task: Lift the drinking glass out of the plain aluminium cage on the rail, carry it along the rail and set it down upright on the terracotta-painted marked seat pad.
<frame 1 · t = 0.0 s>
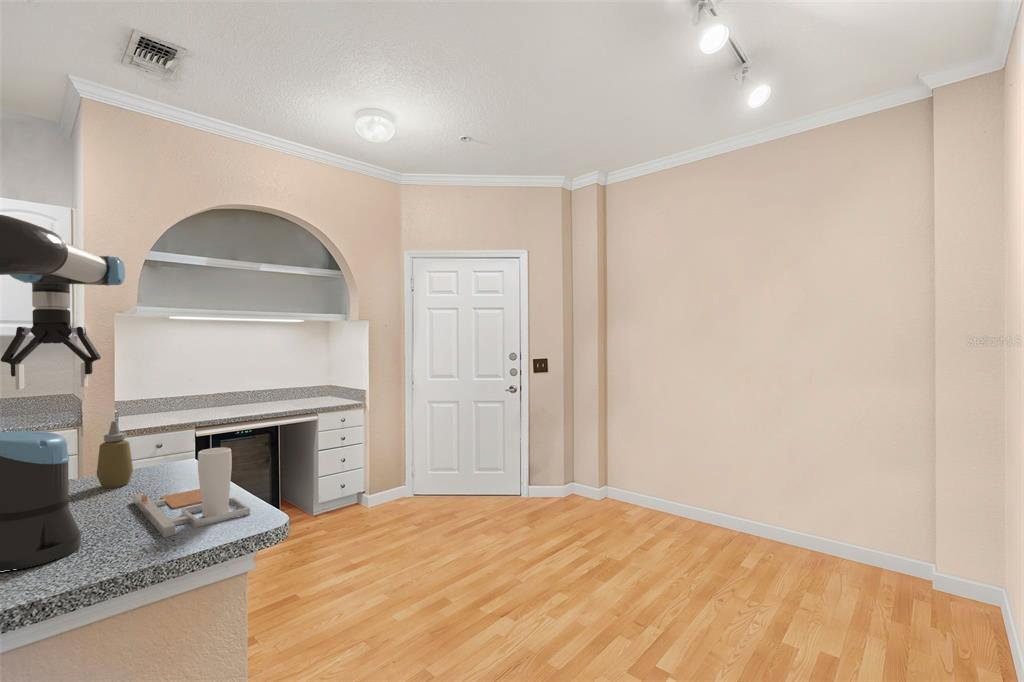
hand: (53, 387, 135), 28 cm above the counter, fingers open, 13 cm apart
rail: (204, 505, 123), on the counter
drinking glass: (215, 515, 117), resting in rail
squeeze bottle: (115, 486, 141), on the counter
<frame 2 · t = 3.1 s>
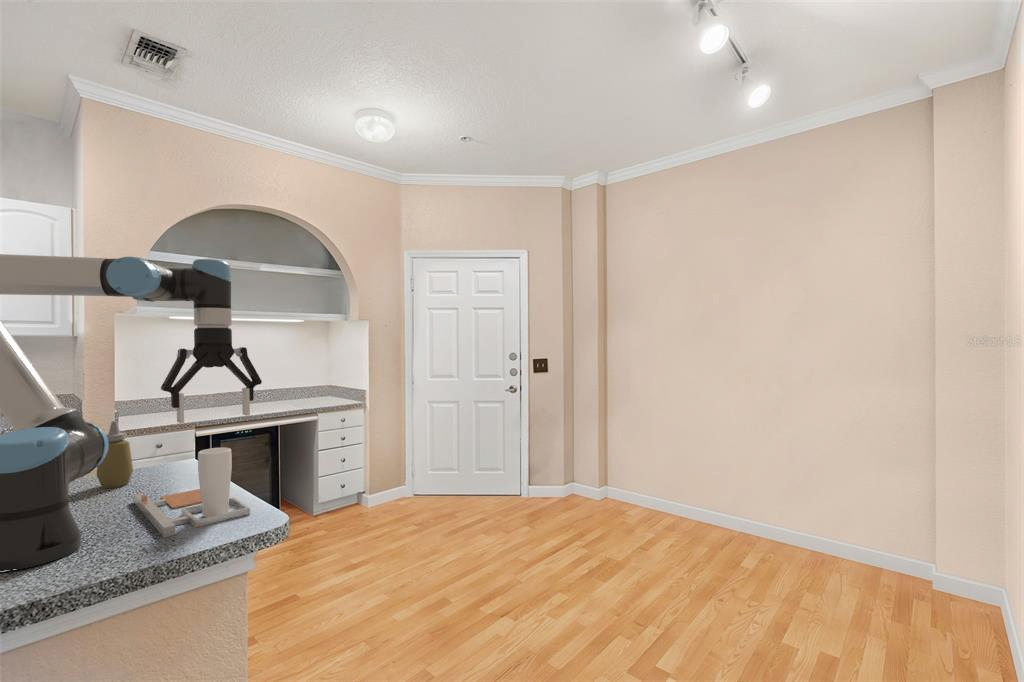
hand: (214, 418, 117), 22 cm above the counter, fingers open, 13 cm apart
nothing on the counter moved.
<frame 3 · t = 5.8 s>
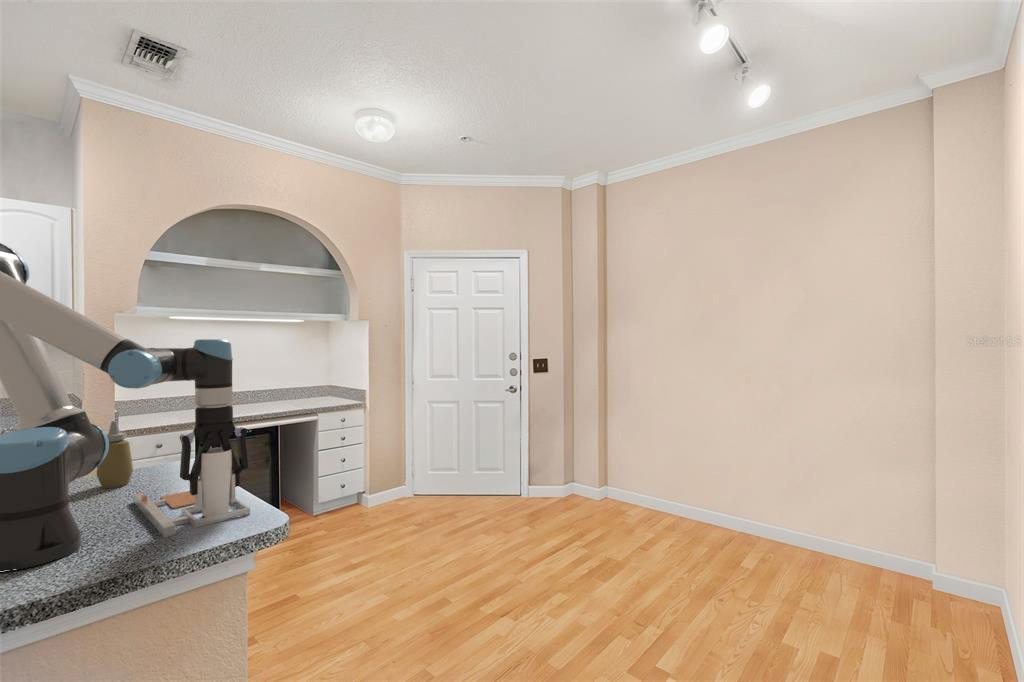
hand: (215, 504, 117), 2 cm above the counter, fingers closed on drinking glass, 6 cm apart
drinking glass: (215, 515, 117), resting in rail, touching gripper
everything else where it was.
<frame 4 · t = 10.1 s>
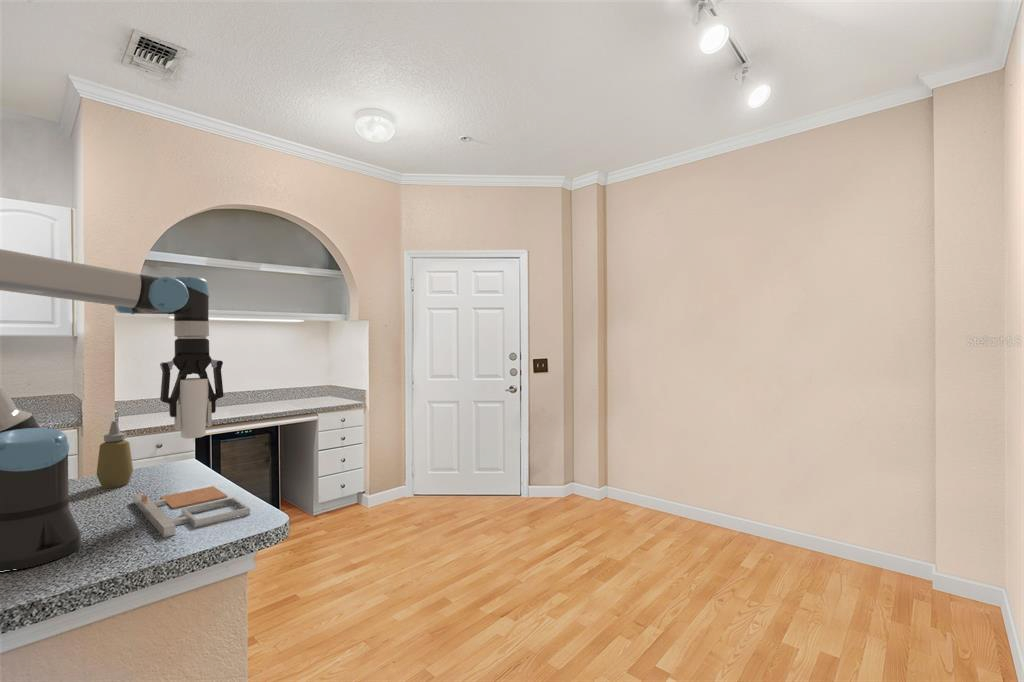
hand: (193, 427, 129), 18 cm above the counter, fingers closed on drinking glass, 6 cm apart
drinking glass: (193, 437, 129), point 15 cm above the counter, touching gripper
everything else where it was.
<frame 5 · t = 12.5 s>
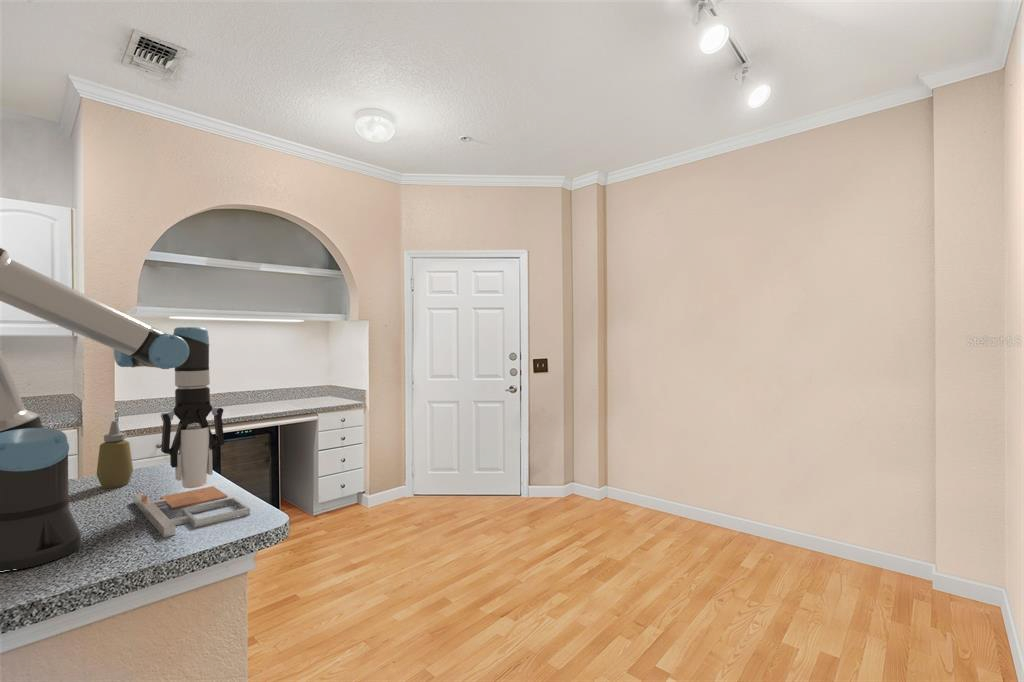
hand: (194, 476, 129), 5 cm above the counter, fingers closed on drinking glass, 6 cm apart
drinking glass: (194, 486, 130), point 3 cm above the counter, touching gripper
everything else where it was.
when the fingers open (4 cm above the counter, at t = 14.5 s): drinking glass stays where it is, resting on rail.
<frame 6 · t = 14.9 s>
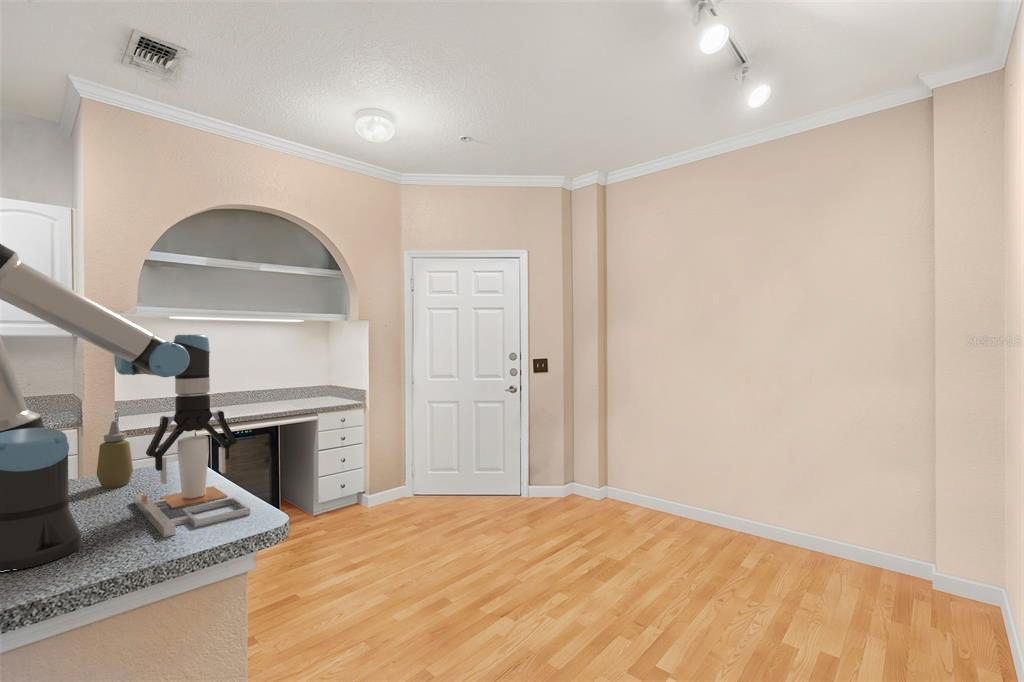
hand: (194, 477, 129), 5 cm above the counter, fingers open, 12 cm apart
drinking glass: (194, 496, 129), resting on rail
everything else where it was.
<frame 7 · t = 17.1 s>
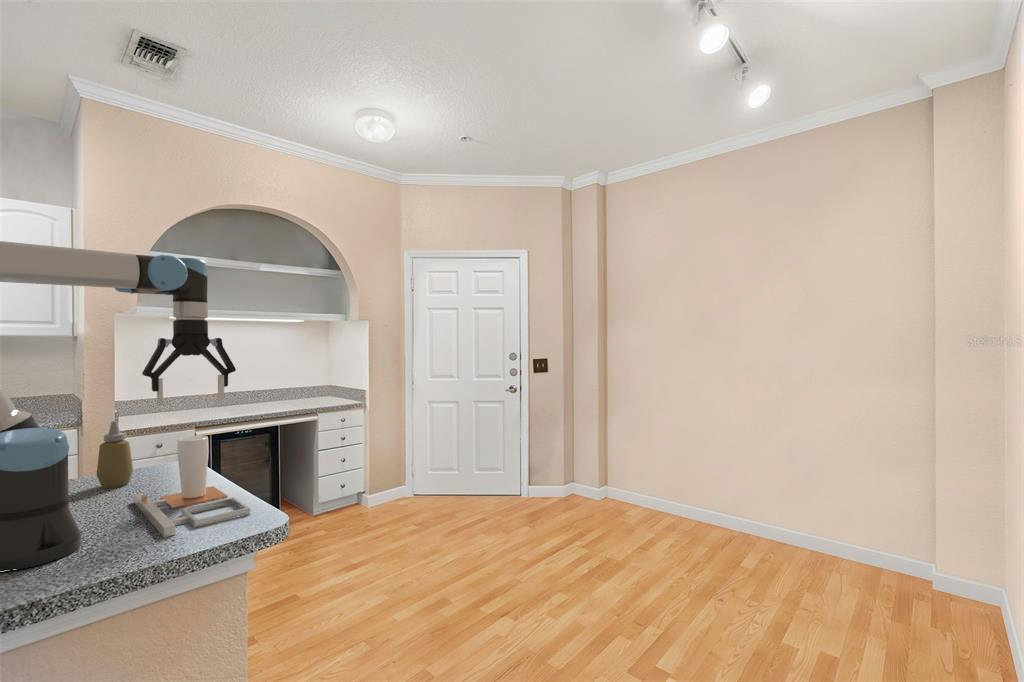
hand: (191, 402, 129), 25 cm above the counter, fingers open, 13 cm apart
nothing on the counter moved.
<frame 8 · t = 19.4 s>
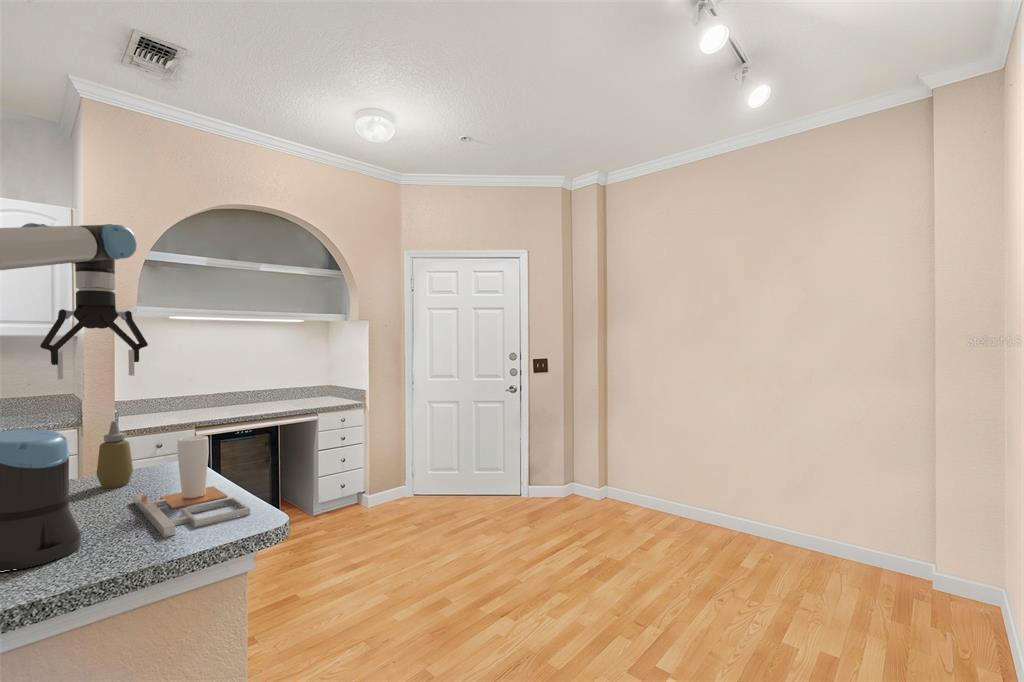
hand: (97, 377, 124), 32 cm above the counter, fingers open, 13 cm apart
nothing on the counter moved.
at the end: drinking glass inside the target area (0.1 cm from its centre), resting on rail; drinking glass tilted 0°; the gripper is holding nothing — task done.
